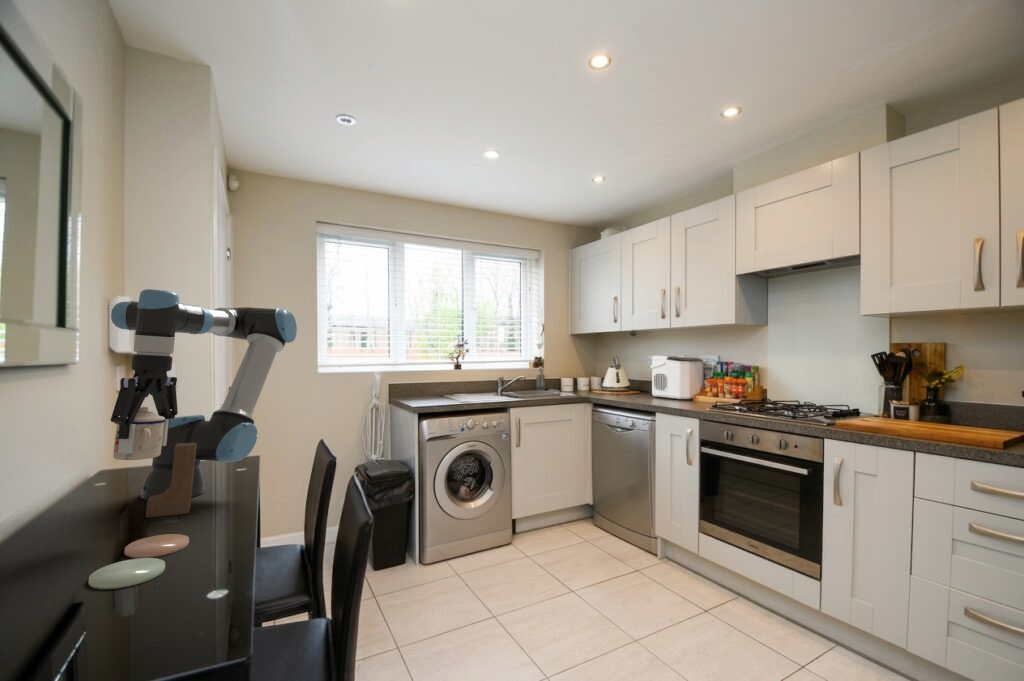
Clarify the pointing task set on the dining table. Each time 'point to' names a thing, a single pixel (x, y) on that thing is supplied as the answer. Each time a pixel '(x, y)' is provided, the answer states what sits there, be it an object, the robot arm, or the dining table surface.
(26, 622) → the dining table surface
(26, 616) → the dining table surface
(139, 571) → the sage coaster
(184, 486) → the wooden block
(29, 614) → the dining table surface
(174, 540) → the pink coaster
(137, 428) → the teacup with lid
